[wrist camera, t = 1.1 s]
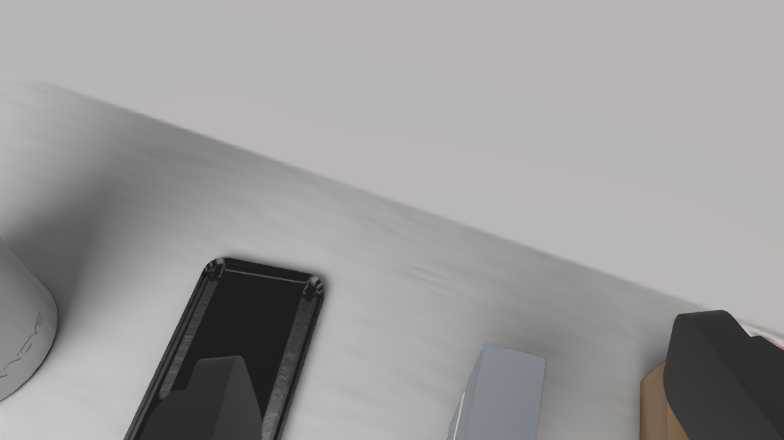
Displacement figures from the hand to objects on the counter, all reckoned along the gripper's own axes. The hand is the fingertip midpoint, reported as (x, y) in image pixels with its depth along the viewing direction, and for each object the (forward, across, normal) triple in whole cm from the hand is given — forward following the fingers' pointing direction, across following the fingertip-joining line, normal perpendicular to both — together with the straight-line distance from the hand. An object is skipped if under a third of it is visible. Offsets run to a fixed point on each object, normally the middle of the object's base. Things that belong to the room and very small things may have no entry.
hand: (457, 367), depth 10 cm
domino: (+11, -1, +19) cm, 22 cm away
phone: (+16, +12, +16) cm, 25 cm away
